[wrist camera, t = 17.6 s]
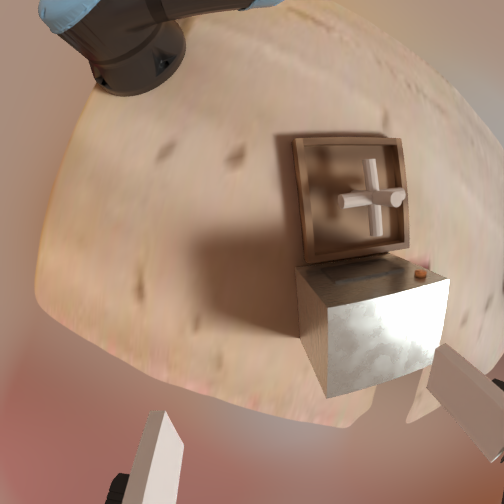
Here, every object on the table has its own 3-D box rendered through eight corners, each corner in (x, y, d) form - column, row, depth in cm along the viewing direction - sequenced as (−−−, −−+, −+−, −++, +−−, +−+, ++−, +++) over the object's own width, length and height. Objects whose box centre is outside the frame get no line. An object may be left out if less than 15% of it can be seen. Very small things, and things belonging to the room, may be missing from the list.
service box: (294, 263, 39) (327, 302, 25) (389, 249, 40) (449, 274, 25) (299, 340, 42) (326, 401, 27) (386, 321, 43) (434, 365, 28)
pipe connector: (319, 164, 36) (355, 157, 26) (377, 160, 37) (420, 155, 27) (328, 235, 38) (364, 249, 28) (384, 224, 39) (426, 235, 29)
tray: (291, 141, 36) (295, 138, 33) (392, 140, 36) (401, 138, 34) (304, 259, 39) (308, 263, 37) (401, 245, 40) (409, 247, 38)
